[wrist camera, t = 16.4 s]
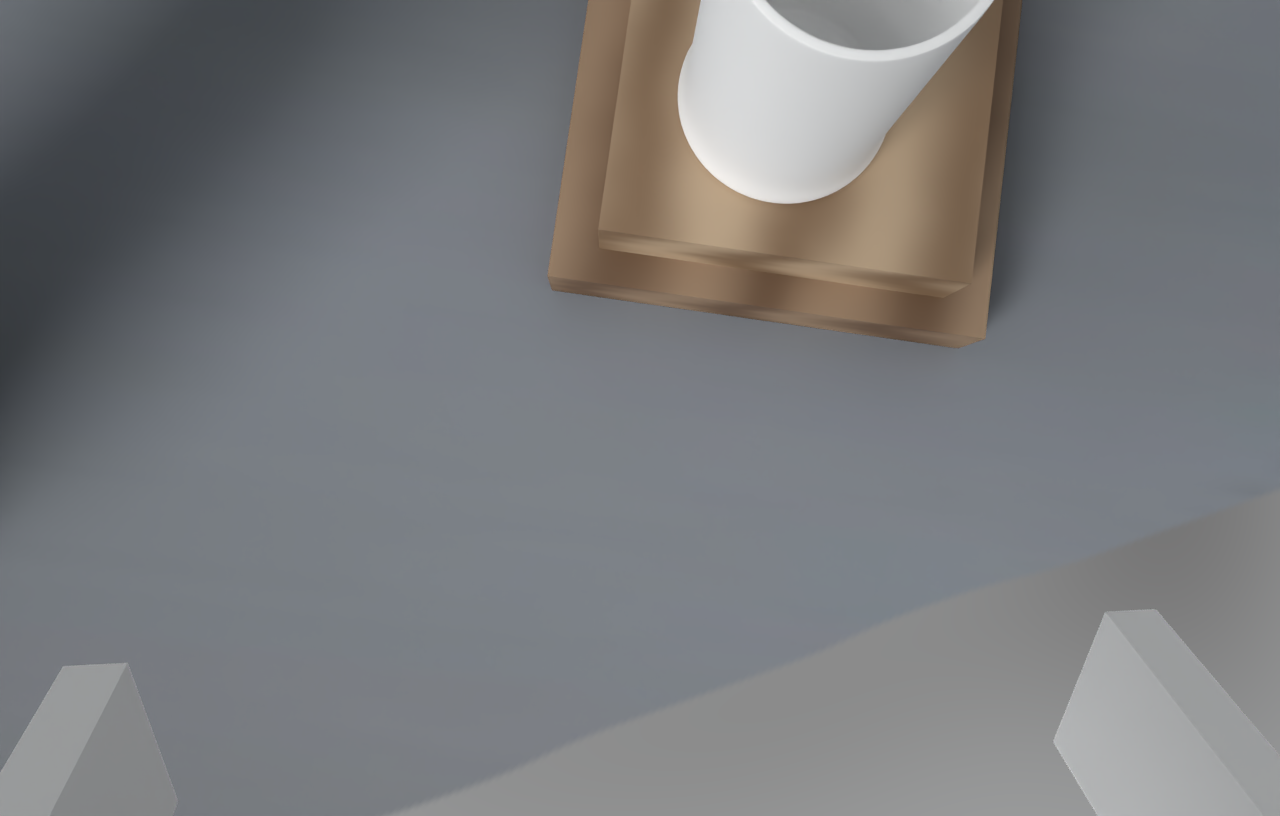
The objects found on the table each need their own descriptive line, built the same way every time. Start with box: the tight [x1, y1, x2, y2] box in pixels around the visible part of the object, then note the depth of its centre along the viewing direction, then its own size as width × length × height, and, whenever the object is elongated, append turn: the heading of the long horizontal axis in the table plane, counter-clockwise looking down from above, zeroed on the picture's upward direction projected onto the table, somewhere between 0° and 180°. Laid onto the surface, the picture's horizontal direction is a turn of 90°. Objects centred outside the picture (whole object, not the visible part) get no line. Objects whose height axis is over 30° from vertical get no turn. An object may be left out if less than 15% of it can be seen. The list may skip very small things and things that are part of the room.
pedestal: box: [548, 0, 1022, 348], centre depth 39 cm, size 19×18×6 cm
